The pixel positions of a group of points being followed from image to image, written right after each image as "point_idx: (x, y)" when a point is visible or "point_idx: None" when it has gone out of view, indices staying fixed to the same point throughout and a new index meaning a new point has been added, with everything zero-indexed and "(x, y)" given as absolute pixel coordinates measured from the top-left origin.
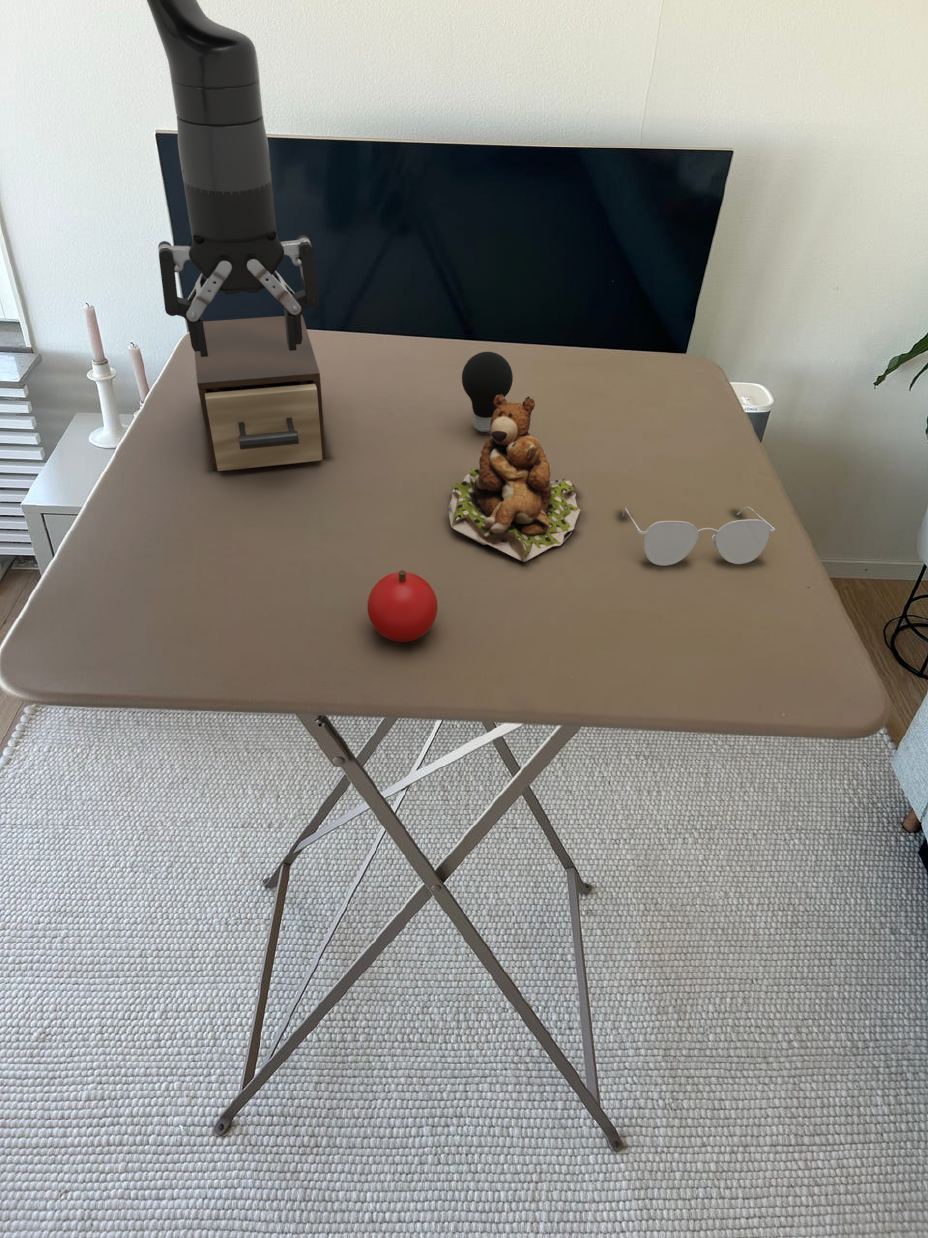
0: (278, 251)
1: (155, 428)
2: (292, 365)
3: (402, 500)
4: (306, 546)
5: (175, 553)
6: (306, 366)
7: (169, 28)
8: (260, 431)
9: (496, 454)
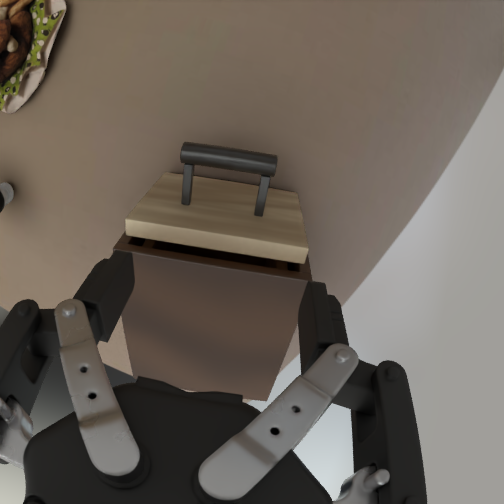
0: (31, 457)
1: None
2: (151, 282)
3: (97, 78)
4: (231, 16)
5: (384, 67)
6: None
7: None
8: (232, 203)
9: None
